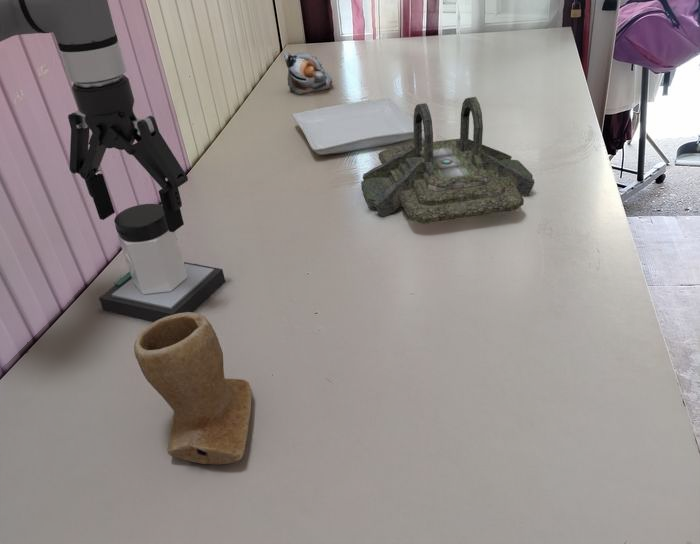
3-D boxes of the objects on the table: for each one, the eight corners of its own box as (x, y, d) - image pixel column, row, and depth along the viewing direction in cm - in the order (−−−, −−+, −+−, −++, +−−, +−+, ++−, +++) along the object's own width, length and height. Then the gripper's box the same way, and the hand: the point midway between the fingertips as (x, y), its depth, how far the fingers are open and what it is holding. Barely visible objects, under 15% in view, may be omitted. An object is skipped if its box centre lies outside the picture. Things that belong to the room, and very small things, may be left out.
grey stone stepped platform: (559, 217, 118) (573, 119, 107) (382, 243, 116) (377, 145, 104) (496, 150, 145) (502, 66, 134) (352, 169, 143) (345, 86, 132)
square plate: (292, 127, 169) (290, 112, 166) (390, 110, 173) (389, 95, 171) (314, 163, 148) (312, 146, 145) (425, 143, 152) (425, 127, 150)
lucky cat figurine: (341, 85, 195) (336, 48, 182) (318, 111, 192) (311, 75, 179) (303, 66, 199) (295, 28, 186) (279, 91, 196) (270, 55, 183)
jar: (128, 278, 107) (105, 213, 99) (173, 262, 110) (154, 197, 103) (147, 301, 101) (124, 233, 93) (194, 282, 104) (176, 216, 97)
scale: (102, 310, 105) (97, 295, 103) (155, 267, 115) (151, 253, 113) (176, 327, 100) (171, 312, 98) (225, 281, 109) (221, 266, 108)
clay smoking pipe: (173, 391, 87) (143, 300, 78) (258, 385, 87) (238, 293, 78) (147, 476, 76) (107, 381, 66) (246, 470, 75) (220, 373, 66)
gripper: (191, 76, 84) (221, 222, 97) (51, 66, 93) (96, 201, 106) (155, 93, 78) (192, 245, 92) (11, 81, 87) (63, 221, 101)
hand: (141, 222), depth 99 cm, fingers open, 13 cm apart
